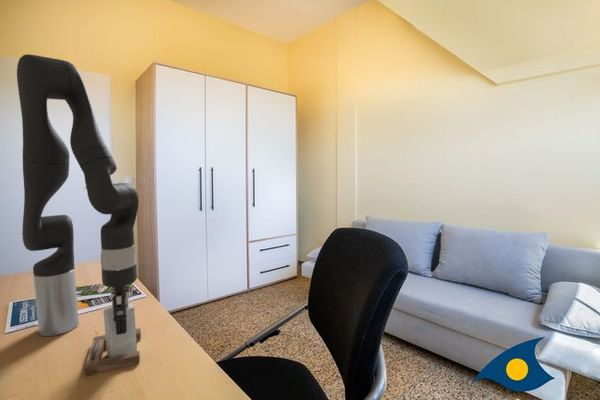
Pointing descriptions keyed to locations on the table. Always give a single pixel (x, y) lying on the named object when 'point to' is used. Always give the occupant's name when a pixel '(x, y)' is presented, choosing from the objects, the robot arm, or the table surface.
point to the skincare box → (123, 341)
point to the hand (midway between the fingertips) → (122, 325)
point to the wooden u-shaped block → (100, 365)
